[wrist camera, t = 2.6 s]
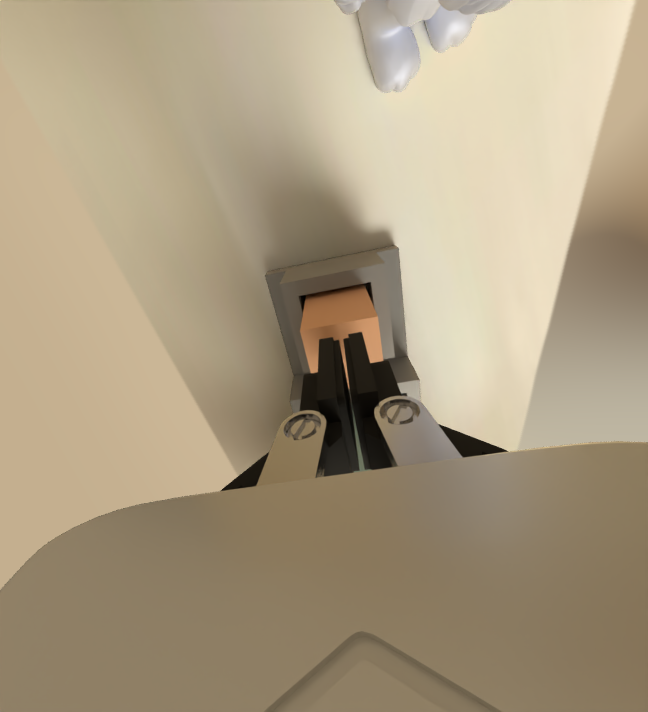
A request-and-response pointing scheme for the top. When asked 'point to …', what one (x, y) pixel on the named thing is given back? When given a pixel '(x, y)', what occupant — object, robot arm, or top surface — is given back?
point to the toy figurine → (396, 40)
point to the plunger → (340, 322)
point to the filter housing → (354, 269)
